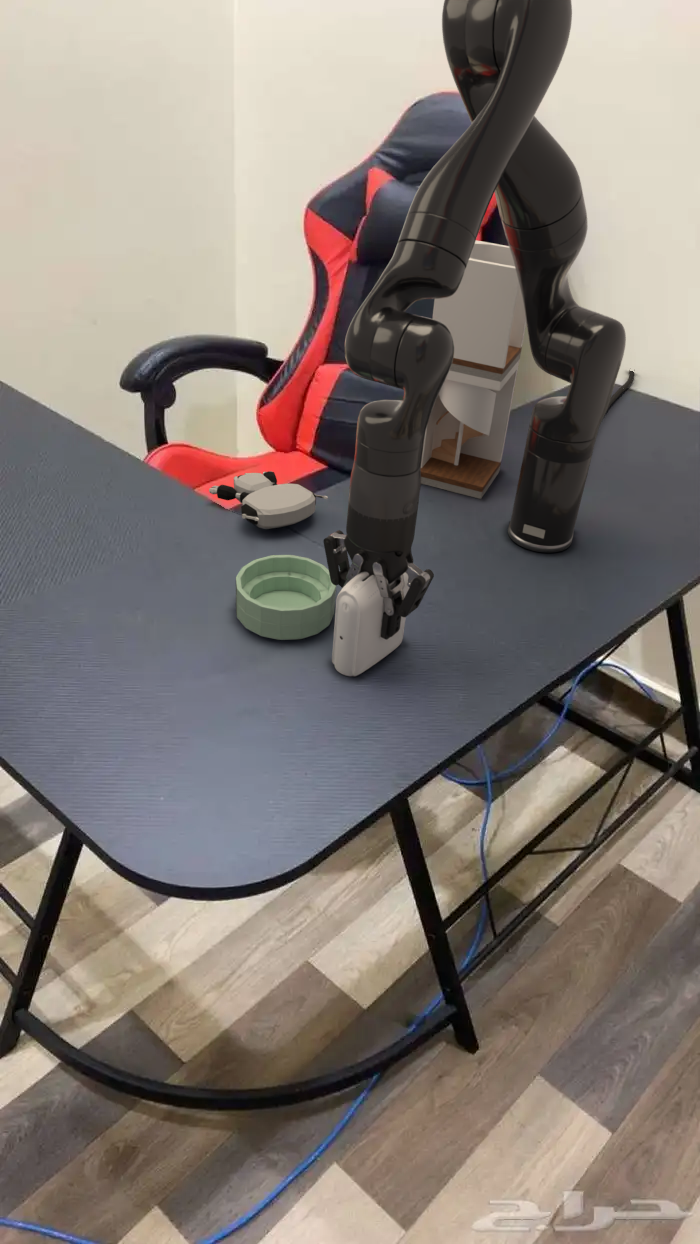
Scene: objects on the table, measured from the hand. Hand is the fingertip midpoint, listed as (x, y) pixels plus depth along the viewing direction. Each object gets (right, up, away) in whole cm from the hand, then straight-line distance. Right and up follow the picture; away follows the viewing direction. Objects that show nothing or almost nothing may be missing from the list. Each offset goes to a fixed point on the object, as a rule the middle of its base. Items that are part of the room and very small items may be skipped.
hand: (370, 626), depth 112 cm
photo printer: (0, -4, +3) cm, 4 cm away
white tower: (+15, +24, +42) cm, 51 cm away
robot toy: (-15, +16, +28) cm, 36 cm away
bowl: (-11, +1, +8) cm, 13 cm away
